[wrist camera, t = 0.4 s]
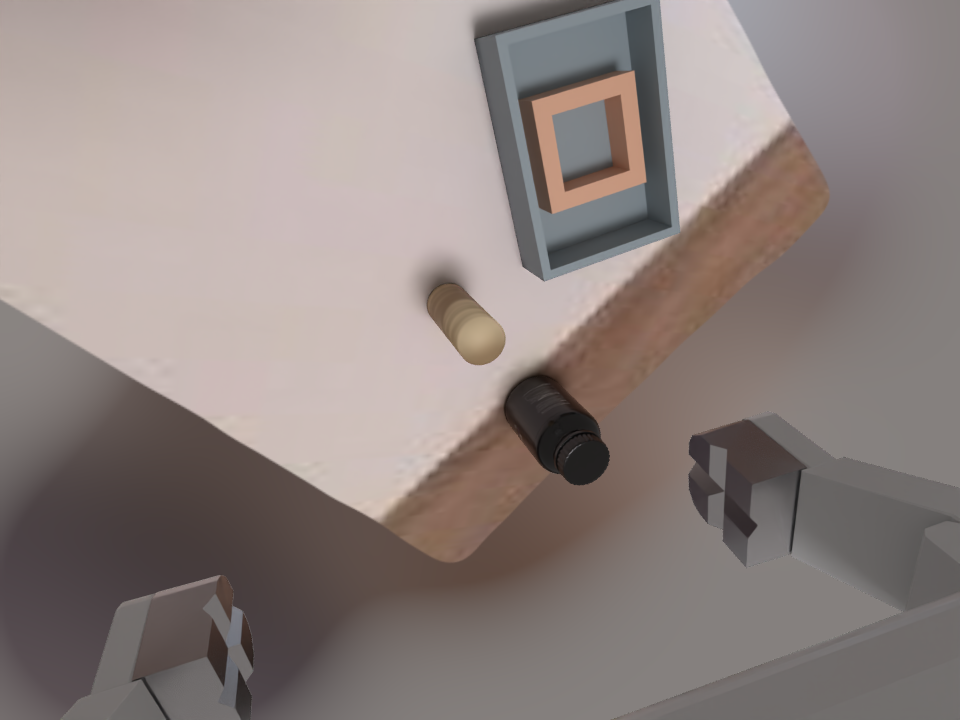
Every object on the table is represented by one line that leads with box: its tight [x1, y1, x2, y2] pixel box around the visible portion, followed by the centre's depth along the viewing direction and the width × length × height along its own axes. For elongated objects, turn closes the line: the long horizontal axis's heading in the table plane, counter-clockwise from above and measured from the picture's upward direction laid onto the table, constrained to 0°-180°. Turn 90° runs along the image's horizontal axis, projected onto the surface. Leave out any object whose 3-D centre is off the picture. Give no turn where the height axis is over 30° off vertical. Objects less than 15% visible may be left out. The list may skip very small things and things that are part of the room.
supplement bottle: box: [506, 376, 610, 485], centre depth 63 cm, size 7×7×12 cm
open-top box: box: [474, 0, 680, 281], centre depth 56 cm, size 20×14×5 cm
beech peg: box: [427, 283, 505, 365], centre depth 56 cm, size 4×4×10 cm
